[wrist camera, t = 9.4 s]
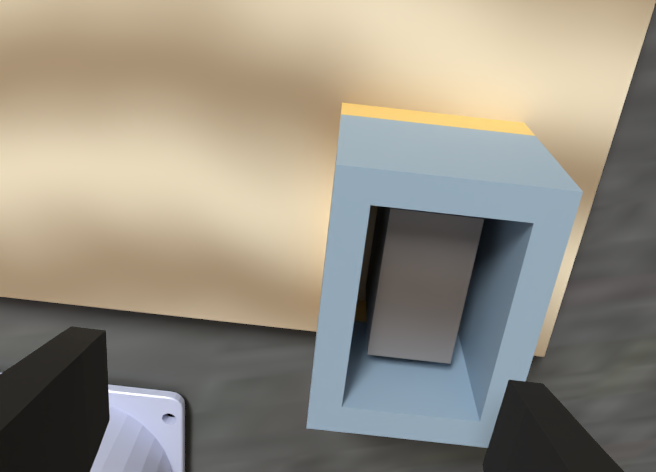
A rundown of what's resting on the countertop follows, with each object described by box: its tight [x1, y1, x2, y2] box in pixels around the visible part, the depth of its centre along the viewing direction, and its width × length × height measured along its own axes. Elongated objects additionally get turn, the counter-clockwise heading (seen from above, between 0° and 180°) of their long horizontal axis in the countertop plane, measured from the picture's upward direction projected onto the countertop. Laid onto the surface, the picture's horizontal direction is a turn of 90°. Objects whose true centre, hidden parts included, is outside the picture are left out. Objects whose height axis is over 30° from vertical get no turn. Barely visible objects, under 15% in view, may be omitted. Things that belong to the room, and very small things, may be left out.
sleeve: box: [307, 103, 583, 448], centre depth 16 cm, size 5×7×5 cm
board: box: [0, 0, 656, 364], centre depth 16 cm, size 14×20×5 cm
